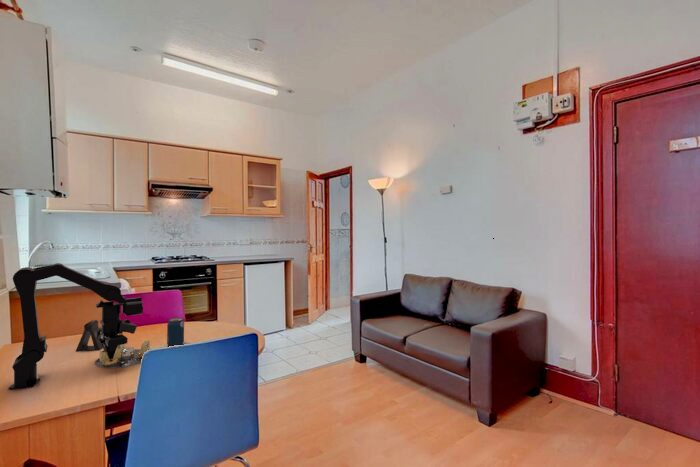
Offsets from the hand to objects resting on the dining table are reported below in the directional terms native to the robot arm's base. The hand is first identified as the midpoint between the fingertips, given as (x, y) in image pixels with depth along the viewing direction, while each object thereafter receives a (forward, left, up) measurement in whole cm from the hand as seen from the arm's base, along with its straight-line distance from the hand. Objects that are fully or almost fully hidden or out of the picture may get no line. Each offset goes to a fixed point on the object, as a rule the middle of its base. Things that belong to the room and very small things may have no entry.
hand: (110, 358), depth 134 cm
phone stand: (+26, +14, -4) cm, 30 cm away
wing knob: (0, 0, -2) cm, 2 cm away
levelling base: (+6, -4, -4) cm, 8 cm away
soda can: (+22, -20, -4) cm, 30 cm away
